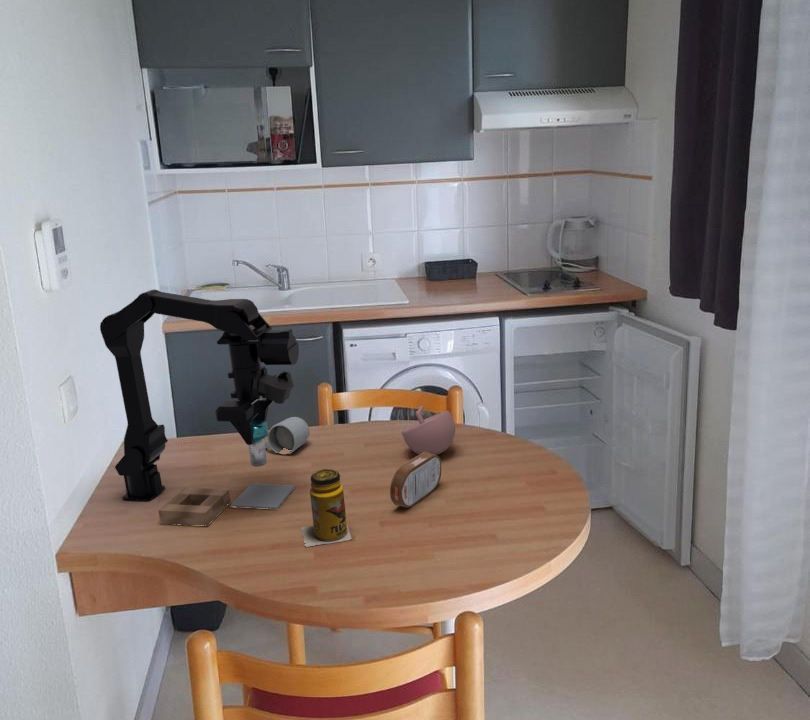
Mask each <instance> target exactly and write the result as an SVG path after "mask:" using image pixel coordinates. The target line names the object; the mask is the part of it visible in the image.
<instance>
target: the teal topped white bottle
mask: <svg viewBox="0 0 810 720" xmlns="http://www.w3.org/2000/svg"><path fill="white" fill-rule="evenodd" d="M268 432H269V429H268V422H267V420H266V421H265V420H260V419H257V420H253V444H252V445H248V451H249V461H250V466H252V467H256V468H257V467H263V466H265V465H266V464H268V460H267V459H268V458H267V453H266V452H267V451H266V447H265V438H267V436H268Z"/></svg>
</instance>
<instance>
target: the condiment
mask: <svg viewBox="0 0 810 720" xmlns="http://www.w3.org/2000/svg"><path fill="white" fill-rule="evenodd" d="M310 482H311V483H310V486H311V488H310V489H309V490H310V491H309V496H310V497H309V498H310V504H311V514H312V515H311V517H312V523H313V525H309V526H307V525H306V526H302V527H300V528H301V533H302V537H303V536H304V537H305V538H304V539H303V544H304V543H306V544H304V547H305V546H306V547H305V548H309V547H315V546H321V545H327V544H333V543H339V542H341V543H342V542H344V541H345V542H346V541H349V540H352V539H353V538H352V535H351V533H350V529H349V525H348V523H347V522H348V521H347V514H346V504H345V495H344V487H343V485H342V484H341V475H340V473H339V471H337V470H335V469H330V468H329V469H328V468H324V469H319V470H317V471H314V473H312V474H311V476H310ZM303 534H304V535H303ZM307 542H308V543H307ZM316 542H317V543H316Z"/></svg>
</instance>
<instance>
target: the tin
mask: <svg viewBox="0 0 810 720" xmlns="http://www.w3.org/2000/svg"><path fill="white" fill-rule="evenodd" d="M441 477H442V459H441V458H440V456H439V455H435V454H431V453H429V452H423V453H421V454H417V455H416V456H414V457H413V458H411V459H409V460H408V461H407V462H405V463H403V464H401V465H400V466H399V467H398V468H397V469H396V471H395V473H394V475H393V477H392V479H391V483H390V488H389V497H390V500H391V503H393V505H395V506H400V507H403V508H406V509H407V508H411V507H413V506H414V505H416V504H418V503H419V502H420V501H422V500H423V499H424V498H426V497H427V496H429V495H430V494H432V493H433V492H434V491H435V490H436V489H437V487H438V485H439V483H440V480H441Z"/></svg>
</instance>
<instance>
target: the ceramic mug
mask: <svg viewBox="0 0 810 720" xmlns="http://www.w3.org/2000/svg"><path fill="white" fill-rule="evenodd" d="M310 431H311V430H310V427H309V425H308V423H307V422H306V421H305V419H303V418H301V417H298V416H291V417H288V418H286V419H284V420H282V421H280V422H277V423H276V424H274V425H272V427H270V429H268V436H267V437H266V438H267V440H266V441H264V443H265V449H266V448H267V450H268V449H271V450H272V451H273V452H274V453H276V454H277V453H279V452H280V451H281V450H283V448H286V449H288V450H292V451H290V452H289V453H287V454H289V455H291V454H293V452H295V451H296V450H298V449H299V448H301V447H302V446H303V445H304V444H305V443H306V442H307V441H308V440H309V437H310Z"/></svg>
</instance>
